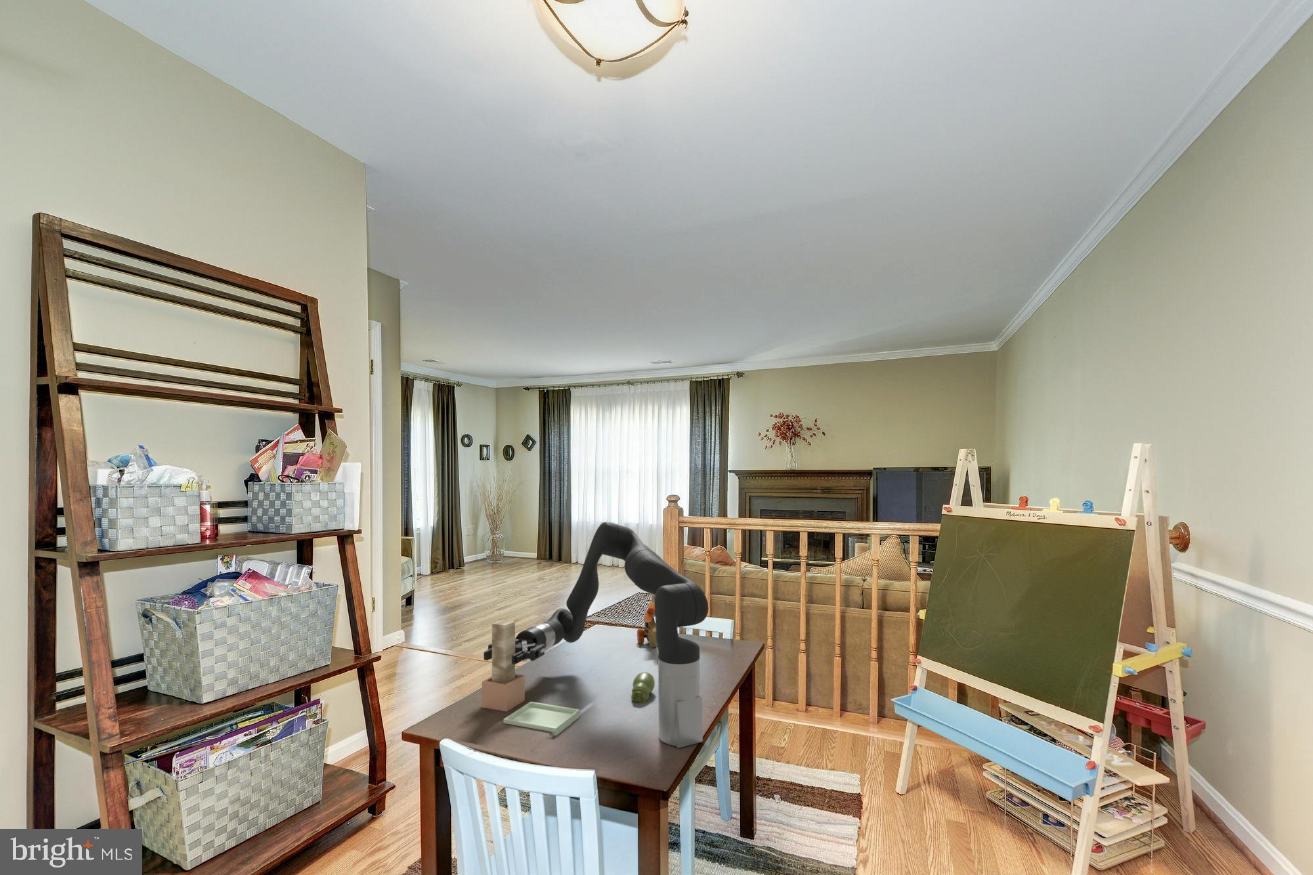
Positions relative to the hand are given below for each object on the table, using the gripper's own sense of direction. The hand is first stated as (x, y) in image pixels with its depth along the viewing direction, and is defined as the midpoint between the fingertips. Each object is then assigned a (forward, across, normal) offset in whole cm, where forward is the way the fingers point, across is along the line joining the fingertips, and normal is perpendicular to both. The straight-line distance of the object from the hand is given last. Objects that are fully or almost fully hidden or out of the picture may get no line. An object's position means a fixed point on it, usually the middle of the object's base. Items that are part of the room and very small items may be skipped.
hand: (498, 658), depth 148 cm
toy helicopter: (-59, +17, +13) cm, 63 cm away
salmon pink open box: (-2, 0, +12) cm, 13 cm away
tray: (+2, +14, +12) cm, 19 cm away
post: (-2, 0, +12) cm, 12 cm away
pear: (-20, +30, +13) cm, 38 cm away
